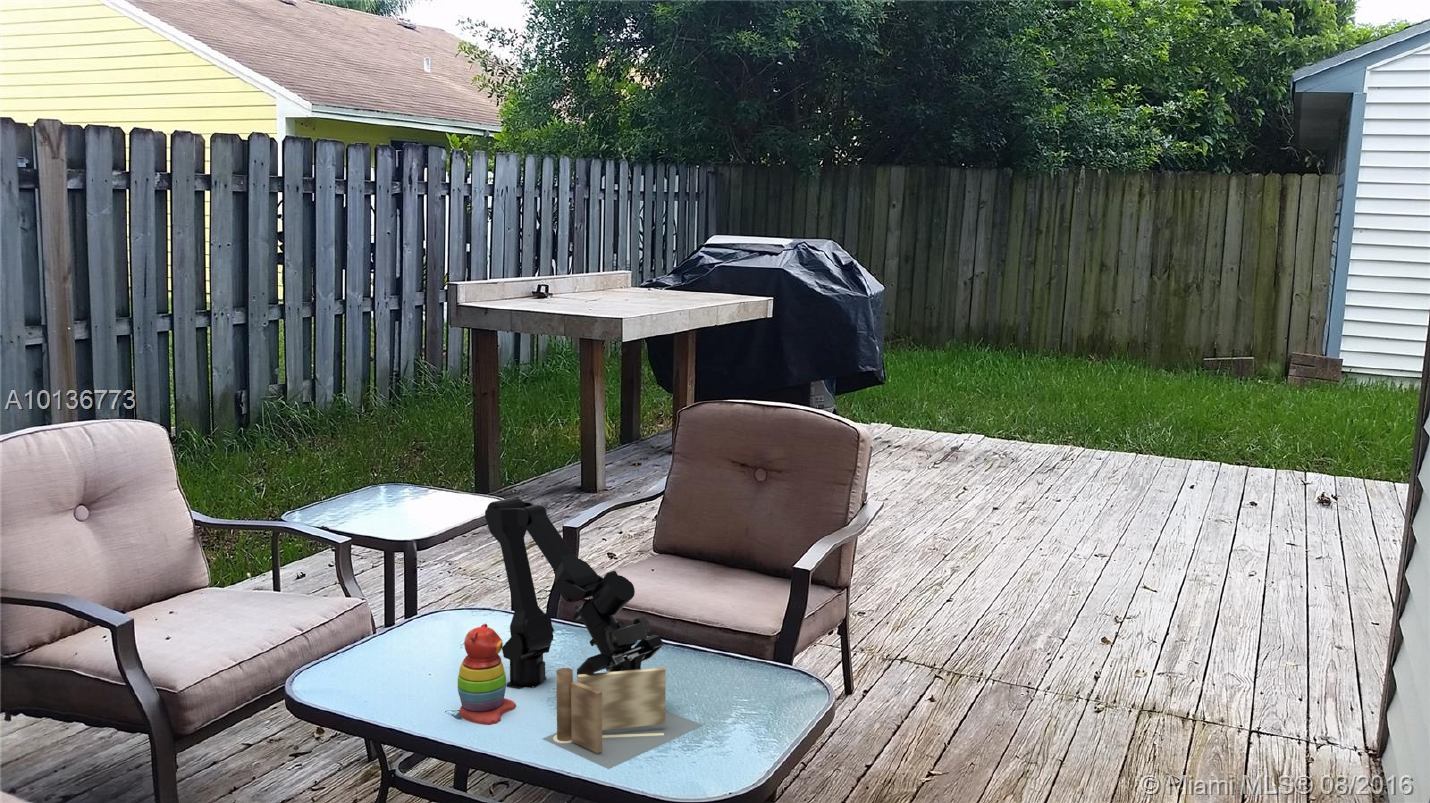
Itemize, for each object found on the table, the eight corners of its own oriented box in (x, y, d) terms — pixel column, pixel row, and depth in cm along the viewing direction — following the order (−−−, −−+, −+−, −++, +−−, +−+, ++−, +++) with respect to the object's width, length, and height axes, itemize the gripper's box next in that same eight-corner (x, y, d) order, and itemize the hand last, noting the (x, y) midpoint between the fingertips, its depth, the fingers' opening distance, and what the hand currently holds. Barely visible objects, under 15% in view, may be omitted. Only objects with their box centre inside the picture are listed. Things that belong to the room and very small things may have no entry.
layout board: (542, 741, 218) (542, 737, 218) (637, 701, 236) (637, 698, 236) (608, 771, 206) (608, 768, 206) (703, 727, 225) (703, 724, 225)
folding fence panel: (578, 732, 218) (578, 676, 216) (577, 729, 219) (577, 674, 217) (665, 723, 222) (665, 669, 220) (664, 721, 223) (664, 667, 222)
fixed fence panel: (553, 738, 218) (553, 670, 216) (565, 733, 220) (565, 666, 218) (593, 756, 211) (593, 686, 209) (605, 750, 213) (605, 682, 211)
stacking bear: (494, 729, 223) (493, 639, 220) (447, 721, 226) (445, 633, 223) (520, 707, 233) (518, 621, 231) (474, 700, 236) (472, 616, 234)
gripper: (587, 617, 216) (628, 690, 210) (658, 594, 230) (698, 663, 224) (559, 647, 222) (598, 719, 217) (629, 623, 236) (668, 690, 230)
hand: (642, 696), depth 222 cm, fingers closed
